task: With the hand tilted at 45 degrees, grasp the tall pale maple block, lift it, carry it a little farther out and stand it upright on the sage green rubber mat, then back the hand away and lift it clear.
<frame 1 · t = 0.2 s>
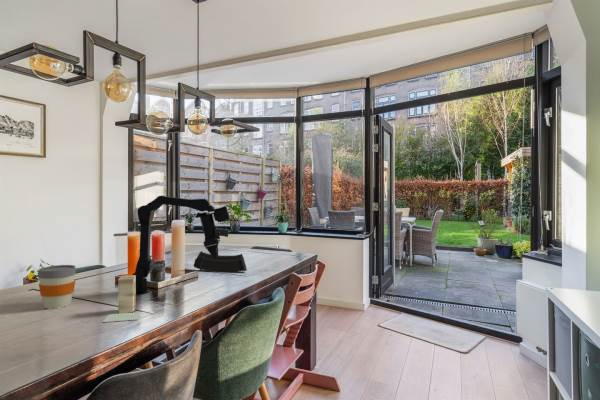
hand: (216, 257, 163), 15 cm above the table, fingers open, 9 cm apart
mat: (122, 317, 127), on the table
reusable coffee cup: (57, 305, 140), on the table
magazine: (220, 272, 203), on the table
maple block: (127, 310, 134), on the table
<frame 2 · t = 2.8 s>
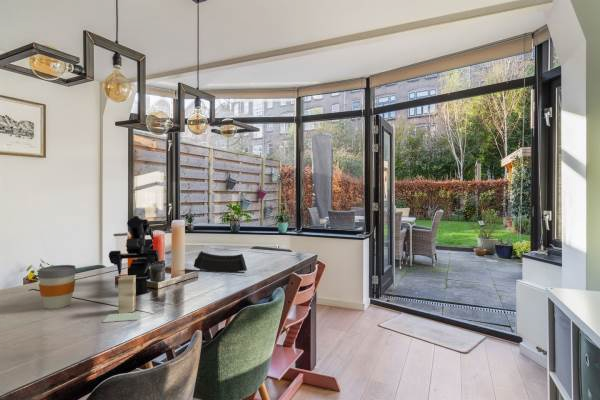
hand: (131, 273, 142), 13 cm above the table, fingers open, 9 cm apart
nothing on the table moved.
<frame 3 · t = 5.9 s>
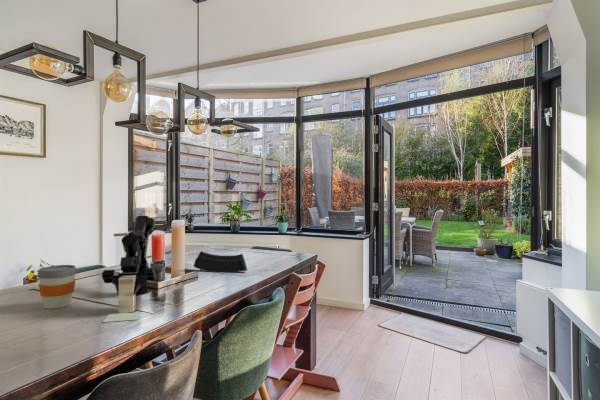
hand: (126, 294, 132), 7 cm above the table, fingers closed on maple block, 5 cm apart
maple block: (127, 310, 134), on the table, touching gripper
everything else where it was.
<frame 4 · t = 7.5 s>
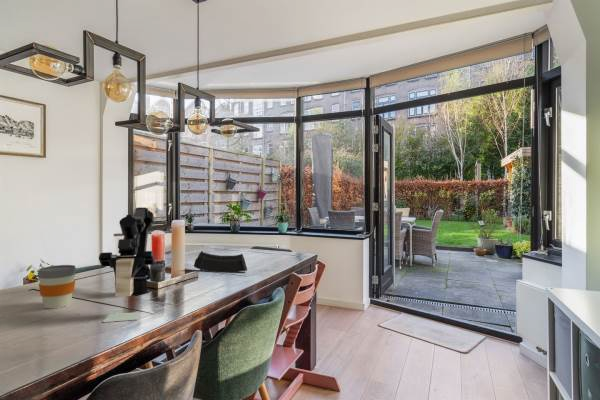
hand: (123, 277, 129), 14 cm above the table, fingers closed on maple block, 5 cm apart
maple block: (124, 294, 130), point 7 cm above the table, touching gripper
everything else where it was.
when the fingers open (8 cm above the table, at t = 9.6 s): maple block stays where it is, resting on mat.
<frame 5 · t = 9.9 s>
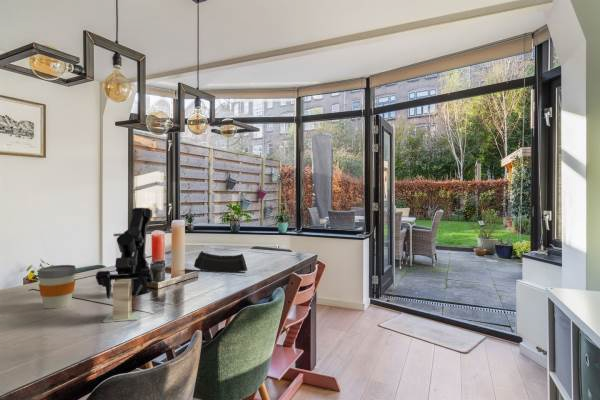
hand: (121, 297, 125), 8 cm above the table, fingers open, 8 cm apart
maple block: (122, 316, 127), resting on mat
everything else where it was.
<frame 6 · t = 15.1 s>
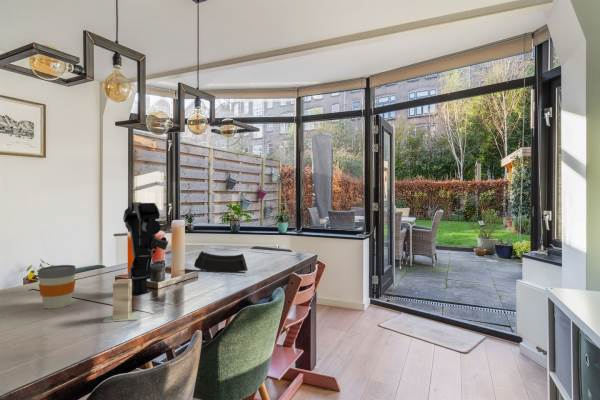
hand: (146, 269, 148), 13 cm above the table, fingers open, 9 cm apart
nothing on the table moved.
at the end: maple block 0.1 cm off-centre on the mat, point 0.3 cm above the mat's base; maple block tilted 0°; the gripper is holding nothing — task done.
